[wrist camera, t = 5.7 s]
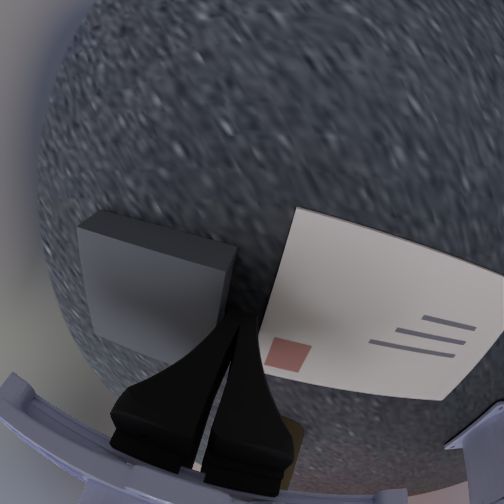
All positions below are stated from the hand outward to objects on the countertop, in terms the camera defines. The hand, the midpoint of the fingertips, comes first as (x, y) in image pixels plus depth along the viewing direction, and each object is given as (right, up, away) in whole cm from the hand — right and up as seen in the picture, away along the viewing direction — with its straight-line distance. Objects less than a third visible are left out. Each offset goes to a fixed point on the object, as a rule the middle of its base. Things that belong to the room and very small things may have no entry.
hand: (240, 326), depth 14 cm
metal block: (-4, +2, +2) cm, 5 cm away
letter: (+8, -1, 0) cm, 8 cm away
